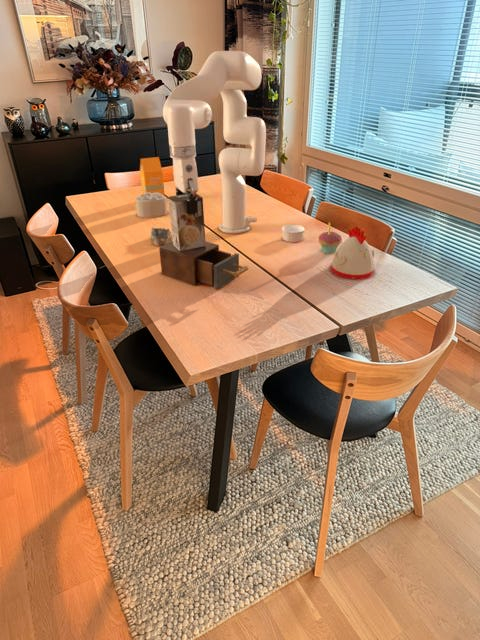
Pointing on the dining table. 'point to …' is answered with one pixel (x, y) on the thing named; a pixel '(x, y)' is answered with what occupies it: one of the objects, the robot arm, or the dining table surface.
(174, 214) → the coffee box
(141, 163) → the orange juice
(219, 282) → the drawer
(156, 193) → the lumpy-topped squat cylinder
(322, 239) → the cupcake
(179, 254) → the cabinet
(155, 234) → the egg carton
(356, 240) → the kitchen timer
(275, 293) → the dining table surface
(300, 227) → the ramekin
